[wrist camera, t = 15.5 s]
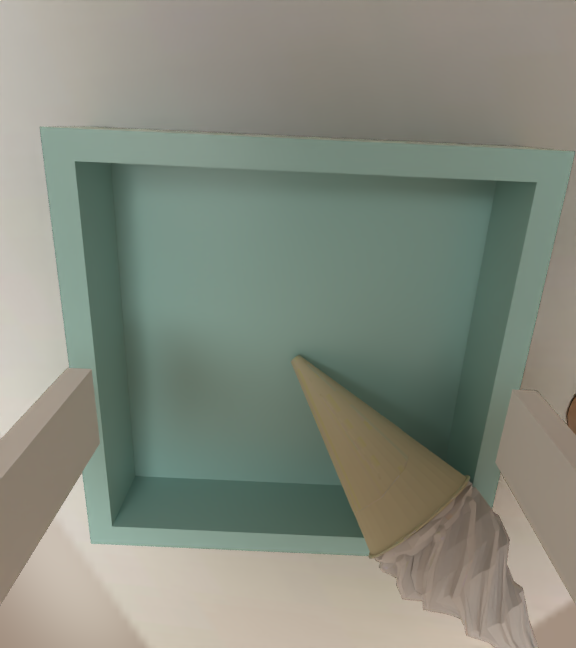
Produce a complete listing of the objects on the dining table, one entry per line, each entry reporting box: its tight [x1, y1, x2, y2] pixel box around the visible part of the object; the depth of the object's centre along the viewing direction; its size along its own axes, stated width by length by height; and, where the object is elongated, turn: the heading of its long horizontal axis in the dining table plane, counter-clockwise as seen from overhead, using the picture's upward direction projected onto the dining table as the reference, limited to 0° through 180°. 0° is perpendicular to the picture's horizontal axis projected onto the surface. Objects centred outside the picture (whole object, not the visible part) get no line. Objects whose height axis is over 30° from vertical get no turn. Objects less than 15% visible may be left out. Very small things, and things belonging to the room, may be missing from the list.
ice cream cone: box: [291, 355, 539, 648], centre depth 20 cm, size 5×5×15 cm
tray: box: [40, 127, 575, 556], centre depth 21 cm, size 17×17×4 cm
